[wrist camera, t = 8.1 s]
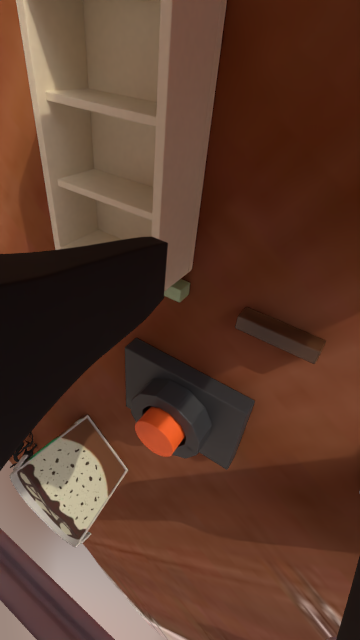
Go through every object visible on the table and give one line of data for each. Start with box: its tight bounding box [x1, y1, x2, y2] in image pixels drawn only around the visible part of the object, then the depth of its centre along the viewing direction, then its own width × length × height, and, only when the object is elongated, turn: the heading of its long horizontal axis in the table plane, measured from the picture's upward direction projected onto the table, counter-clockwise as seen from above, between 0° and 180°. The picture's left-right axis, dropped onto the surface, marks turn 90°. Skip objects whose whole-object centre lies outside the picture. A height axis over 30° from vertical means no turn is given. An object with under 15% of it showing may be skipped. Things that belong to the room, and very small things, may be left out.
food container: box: [10, 415, 128, 548], centre depth 43 cm, size 12×6×10 cm, turn 37°
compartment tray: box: [16, 0, 227, 291], centre depth 18 cm, size 8×13×4 cm, turn 173°
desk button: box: [135, 407, 185, 457], centre depth 27 cm, size 4×4×2 cm
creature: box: [10, 432, 37, 468], centre depth 61 cm, size 8×5×8 cm
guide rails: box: [164, 279, 326, 364], centre depth 17 cm, size 16×17×1 cm
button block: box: [125, 338, 255, 469], centre depth 28 cm, size 11×8×4 cm
